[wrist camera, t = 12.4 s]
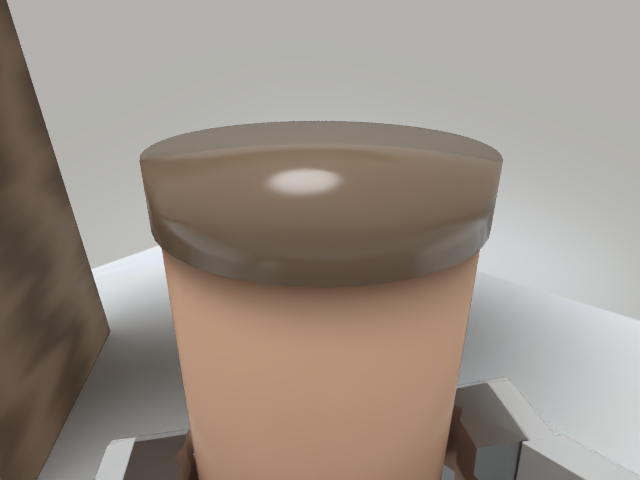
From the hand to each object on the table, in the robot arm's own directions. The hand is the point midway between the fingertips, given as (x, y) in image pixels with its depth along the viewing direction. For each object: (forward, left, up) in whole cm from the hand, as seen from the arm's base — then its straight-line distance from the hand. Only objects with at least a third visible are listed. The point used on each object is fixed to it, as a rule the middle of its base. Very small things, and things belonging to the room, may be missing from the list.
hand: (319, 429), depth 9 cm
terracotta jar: (0, +1, -7) cm, 7 cm away
